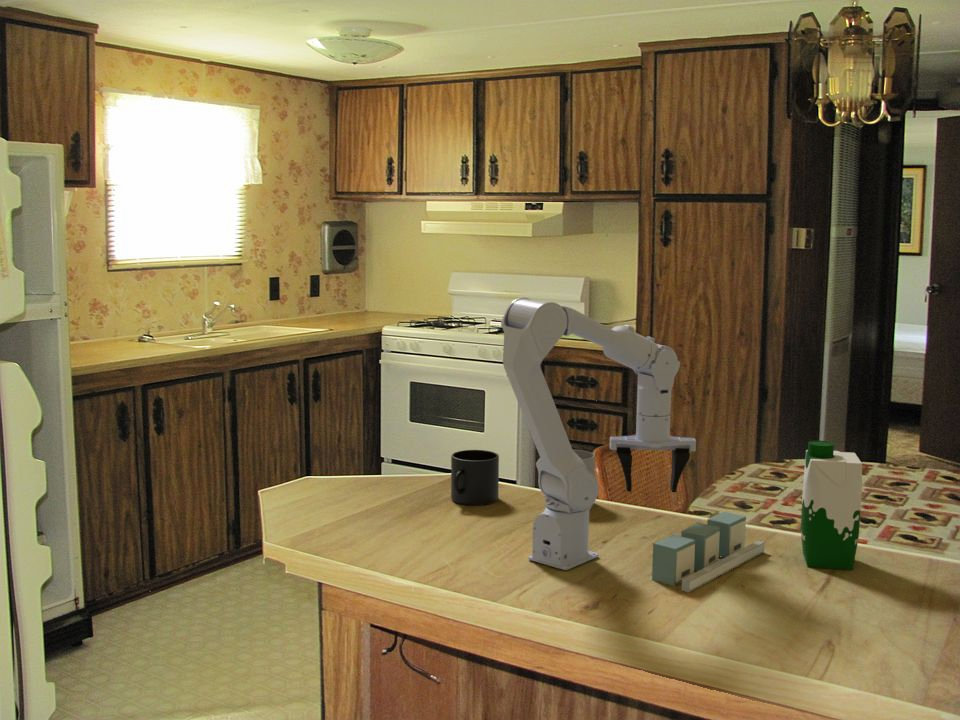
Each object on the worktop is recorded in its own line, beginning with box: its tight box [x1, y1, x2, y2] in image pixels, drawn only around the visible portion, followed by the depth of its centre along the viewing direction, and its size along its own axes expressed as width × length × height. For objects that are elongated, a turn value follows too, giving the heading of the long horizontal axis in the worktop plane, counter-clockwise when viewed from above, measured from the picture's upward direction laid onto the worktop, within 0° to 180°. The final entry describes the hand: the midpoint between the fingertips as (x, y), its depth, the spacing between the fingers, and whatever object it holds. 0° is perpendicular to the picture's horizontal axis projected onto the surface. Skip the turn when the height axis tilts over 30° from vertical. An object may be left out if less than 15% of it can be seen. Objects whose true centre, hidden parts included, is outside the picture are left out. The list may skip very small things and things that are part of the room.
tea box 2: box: [680, 522, 720, 571], centre depth 169 cm, size 6×4×6 cm
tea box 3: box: [706, 511, 747, 558], centre depth 175 cm, size 6×4×6 cm
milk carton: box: [800, 440, 863, 571], centre depth 169 cm, size 9×9×20 cm
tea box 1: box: [651, 534, 695, 587], centre depth 163 cm, size 6×4×6 cm
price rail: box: [681, 540, 766, 593], centre depth 166 cm, size 25×1×2 cm, turn 138°
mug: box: [450, 449, 500, 507], centre depth 204 cm, size 9×12×9 cm
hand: (651, 490), depth 178 cm, fingers open, 7 cm apart
